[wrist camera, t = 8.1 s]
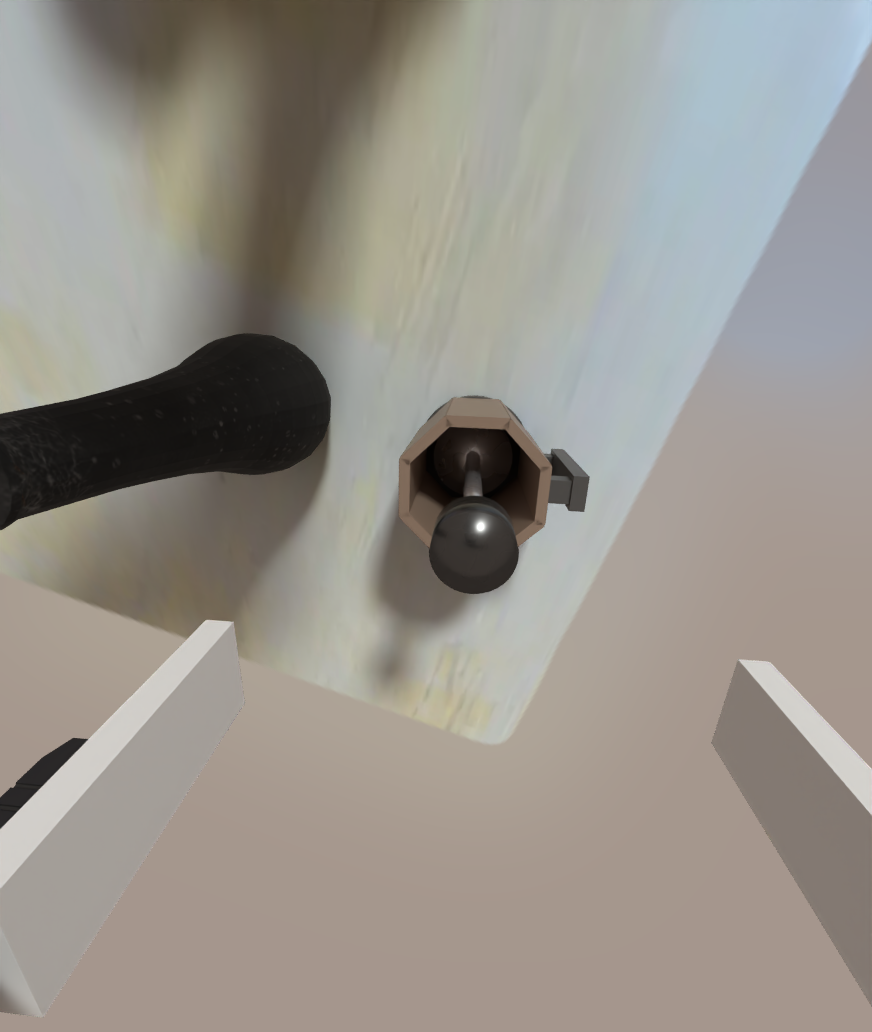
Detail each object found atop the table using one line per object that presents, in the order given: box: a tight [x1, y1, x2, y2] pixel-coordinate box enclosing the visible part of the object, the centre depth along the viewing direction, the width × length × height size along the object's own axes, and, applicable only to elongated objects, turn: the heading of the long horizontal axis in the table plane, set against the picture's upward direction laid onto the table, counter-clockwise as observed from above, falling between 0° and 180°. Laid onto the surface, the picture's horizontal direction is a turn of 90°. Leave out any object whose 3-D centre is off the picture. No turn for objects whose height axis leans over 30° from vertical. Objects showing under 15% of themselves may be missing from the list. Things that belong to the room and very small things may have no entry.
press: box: [399, 396, 589, 548], centre depth 36 cm, size 10×12×13 cm
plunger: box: [429, 427, 519, 594], centre depth 30 cm, size 7×7×21 cm
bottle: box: [0, 334, 331, 530], centre depth 27 cm, size 11×11×30 cm
